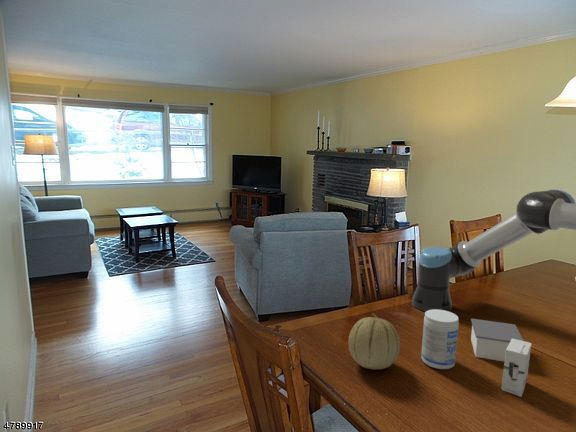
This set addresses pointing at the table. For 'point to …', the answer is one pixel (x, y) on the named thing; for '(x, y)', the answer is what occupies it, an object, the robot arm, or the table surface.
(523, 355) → the ink box
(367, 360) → the cantaloupe
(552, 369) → the table surface
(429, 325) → the supplement tub
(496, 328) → the podium
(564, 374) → the table surface
